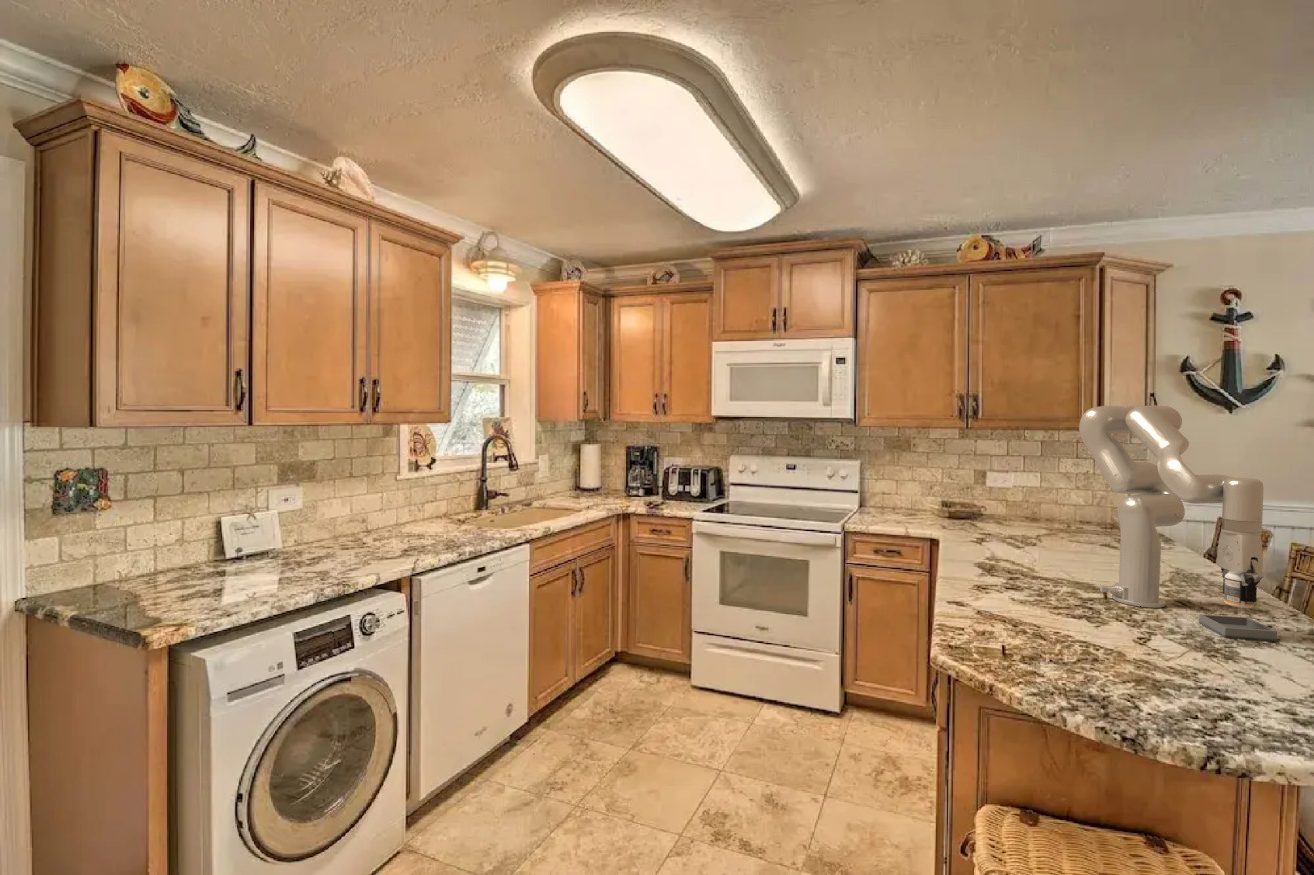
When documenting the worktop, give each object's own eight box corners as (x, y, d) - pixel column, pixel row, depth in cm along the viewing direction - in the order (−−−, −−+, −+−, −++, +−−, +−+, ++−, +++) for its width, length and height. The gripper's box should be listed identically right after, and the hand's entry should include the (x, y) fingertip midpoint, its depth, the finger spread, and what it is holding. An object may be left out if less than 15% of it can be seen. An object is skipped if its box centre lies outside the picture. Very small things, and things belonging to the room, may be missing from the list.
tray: (1224, 637, 159) (1225, 627, 159) (1199, 623, 170) (1199, 614, 169) (1276, 641, 157) (1277, 631, 157) (1247, 626, 167) (1247, 617, 167)
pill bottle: (1246, 603, 164) (1248, 564, 164) (1259, 609, 159) (1260, 569, 159) (1219, 601, 166) (1220, 563, 166) (1230, 607, 161) (1232, 568, 160)
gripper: (1203, 521, 171) (1201, 588, 172) (1246, 532, 154) (1244, 606, 155) (1236, 522, 169) (1234, 590, 170) (1284, 533, 153) (1281, 609, 153)
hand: (1239, 597), depth 162 cm, fingers closed on pill bottle, 5 cm apart
